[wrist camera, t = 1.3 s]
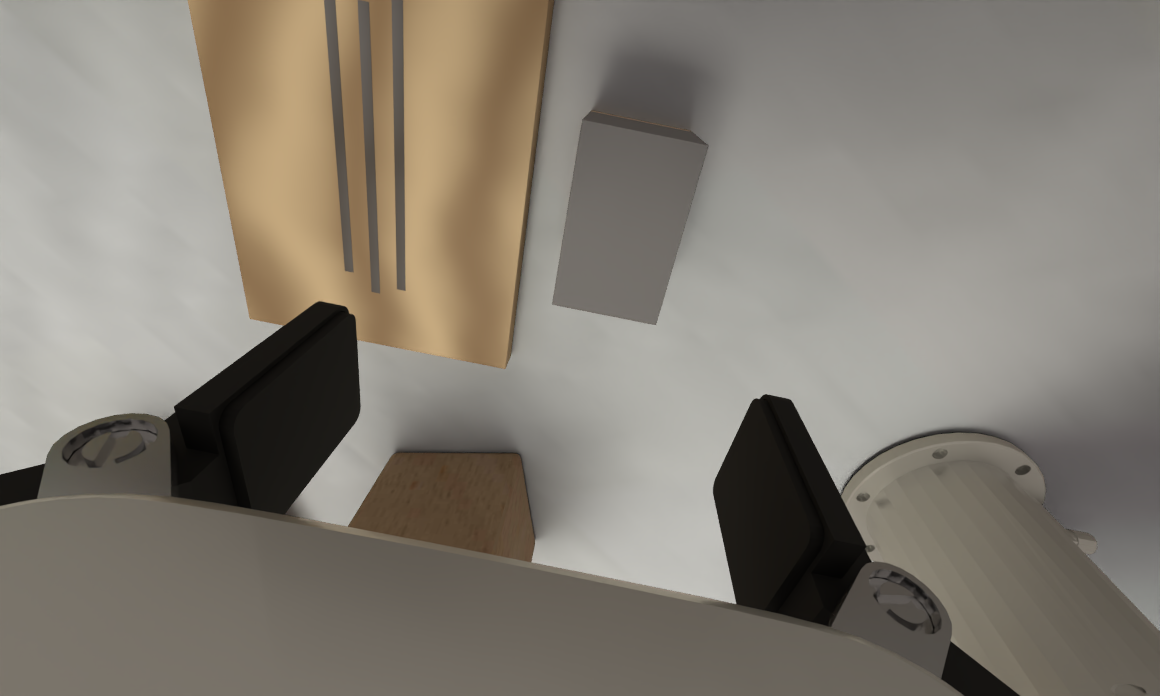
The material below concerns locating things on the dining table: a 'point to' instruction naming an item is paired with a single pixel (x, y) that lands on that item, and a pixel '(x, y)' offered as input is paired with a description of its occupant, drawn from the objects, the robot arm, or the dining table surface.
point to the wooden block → (453, 502)
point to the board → (380, 159)
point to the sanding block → (626, 215)
